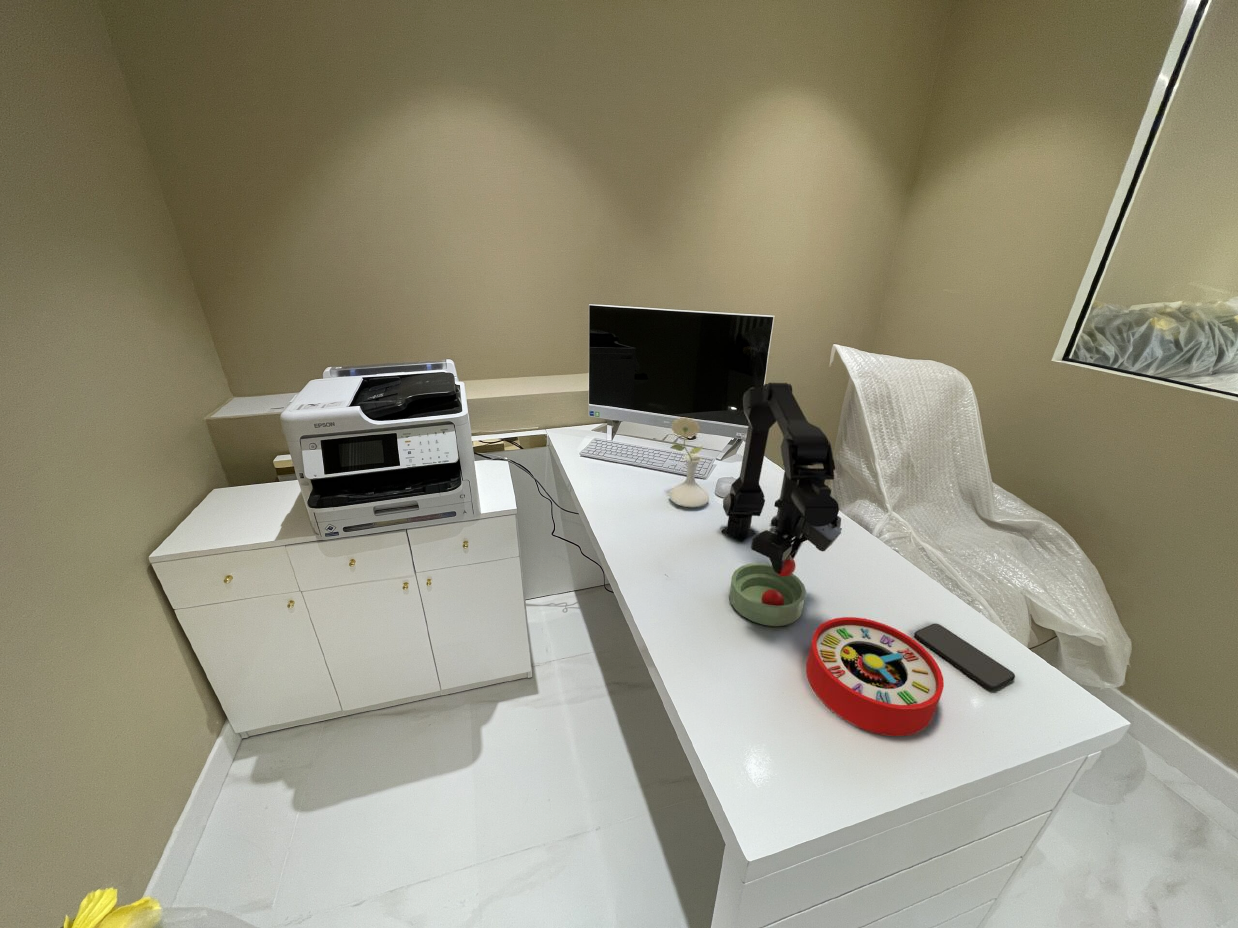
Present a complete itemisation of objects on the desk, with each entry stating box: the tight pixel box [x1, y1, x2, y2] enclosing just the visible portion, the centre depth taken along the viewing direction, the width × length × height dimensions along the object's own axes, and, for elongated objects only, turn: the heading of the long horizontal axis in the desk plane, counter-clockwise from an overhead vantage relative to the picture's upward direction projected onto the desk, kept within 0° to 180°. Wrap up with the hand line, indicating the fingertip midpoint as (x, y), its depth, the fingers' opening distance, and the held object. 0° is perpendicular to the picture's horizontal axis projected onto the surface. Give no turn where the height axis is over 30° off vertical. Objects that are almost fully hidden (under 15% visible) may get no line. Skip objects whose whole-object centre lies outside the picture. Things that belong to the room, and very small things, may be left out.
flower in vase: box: [668, 416, 710, 508], centre depth 140 cm, size 13×11×25 cm
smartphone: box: [913, 623, 1016, 691], centre depth 92 cm, size 7×1×15 cm
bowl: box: [728, 562, 807, 627], centre depth 104 cm, size 15×15×5 cm
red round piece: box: [761, 589, 784, 606], centre depth 101 cm, size 4×4×5 cm
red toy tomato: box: [772, 556, 797, 577], centre depth 98 cm, size 4×4×5 cm
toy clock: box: [805, 616, 945, 737], centre depth 85 cm, size 20×6×20 cm
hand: (782, 567), depth 99 cm, fingers closed on red toy tomato, 4 cm apart
